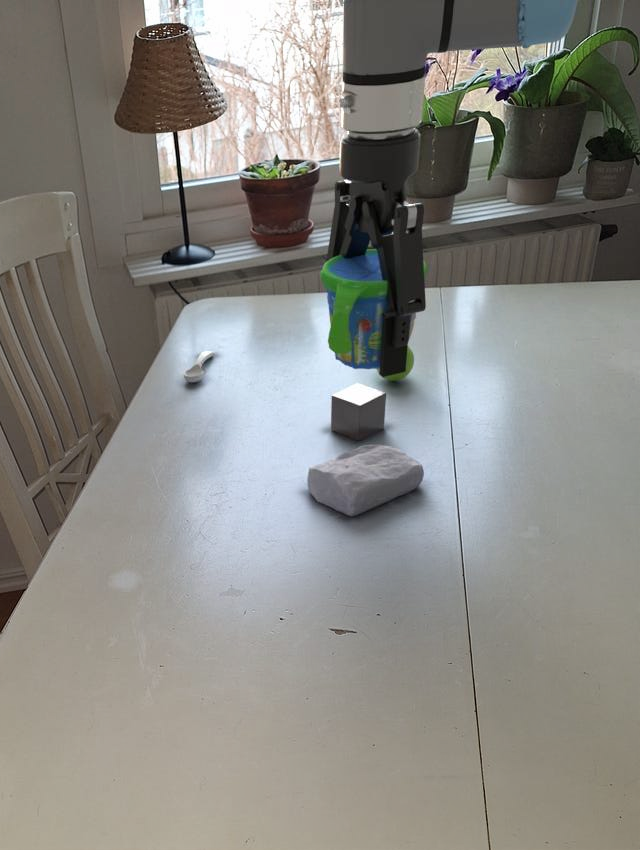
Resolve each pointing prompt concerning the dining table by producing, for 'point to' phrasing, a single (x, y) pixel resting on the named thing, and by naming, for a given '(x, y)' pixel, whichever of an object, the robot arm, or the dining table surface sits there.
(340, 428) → the metal cube
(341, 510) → the stone block
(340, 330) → the snack cup
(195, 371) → the spoon
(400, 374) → the snail figurine
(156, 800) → the dining table surface
